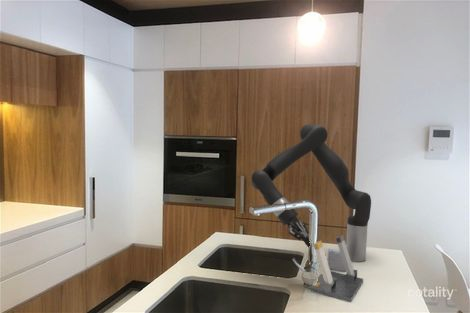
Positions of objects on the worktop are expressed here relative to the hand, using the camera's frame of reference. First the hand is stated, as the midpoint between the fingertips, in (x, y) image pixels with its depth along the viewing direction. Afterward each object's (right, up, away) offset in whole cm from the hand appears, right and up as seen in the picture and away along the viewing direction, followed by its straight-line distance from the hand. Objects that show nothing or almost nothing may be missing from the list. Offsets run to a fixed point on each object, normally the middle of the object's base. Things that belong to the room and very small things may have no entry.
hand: (311, 245), depth 140 cm
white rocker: (+7, -15, -3) cm, 17 cm away
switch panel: (+11, -17, +2) cm, 20 cm away
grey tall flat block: (+18, -15, +5) cm, 24 cm away
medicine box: (+16, -16, +20) cm, 30 cm away
